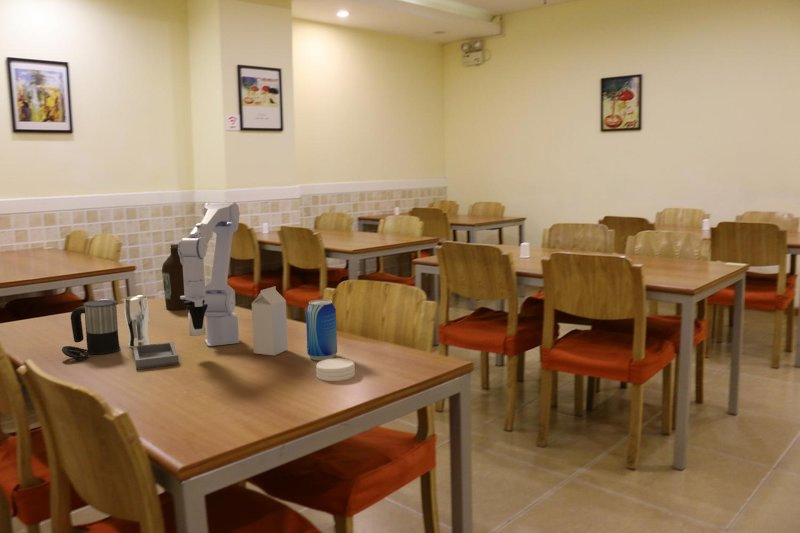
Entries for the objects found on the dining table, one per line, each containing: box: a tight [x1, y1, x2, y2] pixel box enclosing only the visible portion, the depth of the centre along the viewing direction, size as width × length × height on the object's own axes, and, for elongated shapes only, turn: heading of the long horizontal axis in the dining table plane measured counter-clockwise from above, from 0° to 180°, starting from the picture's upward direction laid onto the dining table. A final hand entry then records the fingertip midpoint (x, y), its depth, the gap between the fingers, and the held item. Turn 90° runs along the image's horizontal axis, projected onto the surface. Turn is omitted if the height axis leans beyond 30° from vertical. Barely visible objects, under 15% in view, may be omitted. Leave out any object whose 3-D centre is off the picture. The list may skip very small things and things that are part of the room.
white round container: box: [315, 357, 356, 382], centre depth 173 cm, size 10×10×4 cm
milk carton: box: [251, 285, 289, 357], centre depth 195 cm, size 7×7×19 cm
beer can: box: [305, 299, 338, 361], centre depth 189 cm, size 8×8×16 cm
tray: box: [132, 341, 180, 370], centre depth 190 cm, size 11×16×3 cm
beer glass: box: [123, 295, 150, 349], centre depth 205 cm, size 7×7×15 cm
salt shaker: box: [187, 312, 206, 337], centre depth 190 cm, size 4×4×8 cm
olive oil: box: [161, 243, 188, 311], centre depth 260 cm, size 11×11×25 cm
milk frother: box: [61, 299, 121, 361], centre depth 196 cm, size 14×16×15 cm
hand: (197, 327), depth 191 cm, fingers closed on salt shaker, 4 cm apart
